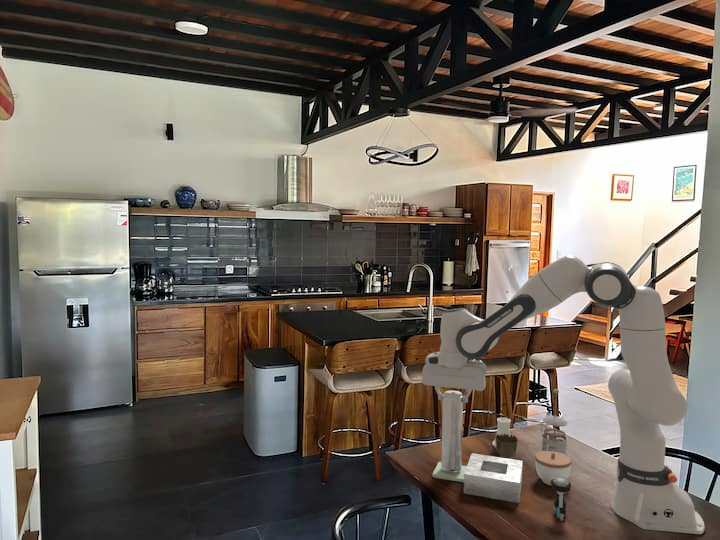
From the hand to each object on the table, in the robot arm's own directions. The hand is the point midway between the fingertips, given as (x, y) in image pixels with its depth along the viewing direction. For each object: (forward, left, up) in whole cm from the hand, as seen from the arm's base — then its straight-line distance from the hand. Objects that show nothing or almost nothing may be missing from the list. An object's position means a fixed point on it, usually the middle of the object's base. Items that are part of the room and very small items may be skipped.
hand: (452, 400), depth 169 cm
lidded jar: (-31, -6, -24) cm, 40 cm away
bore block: (-14, +4, -24) cm, 28 cm away
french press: (-31, -24, -24) cm, 46 cm away
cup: (-16, -17, -24) cm, 34 cm away
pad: (0, 0, -24) cm, 24 cm away
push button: (-33, +15, -24) cm, 44 cm away
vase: (-14, -29, -24) cm, 40 cm away
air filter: (0, 0, -22) cm, 22 cm away
